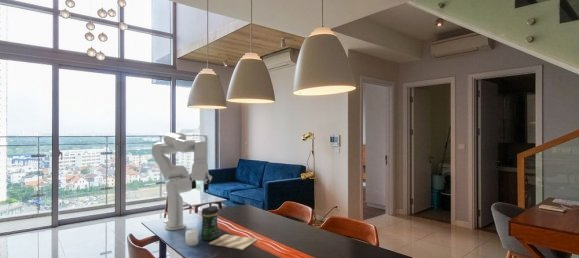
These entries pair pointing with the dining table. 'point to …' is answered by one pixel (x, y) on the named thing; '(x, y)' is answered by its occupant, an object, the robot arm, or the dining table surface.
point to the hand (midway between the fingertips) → (200, 189)
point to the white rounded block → (191, 237)
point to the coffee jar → (209, 223)
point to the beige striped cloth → (233, 241)
